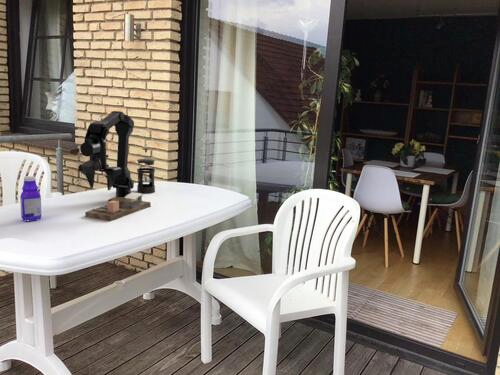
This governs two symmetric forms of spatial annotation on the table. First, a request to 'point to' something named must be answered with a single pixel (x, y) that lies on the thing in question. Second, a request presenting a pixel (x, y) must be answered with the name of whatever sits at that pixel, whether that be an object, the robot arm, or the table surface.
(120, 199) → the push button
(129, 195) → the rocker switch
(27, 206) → the bottle
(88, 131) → the robot arm
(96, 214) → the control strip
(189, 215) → the table surface
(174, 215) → the table surface
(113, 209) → the peach tinted cube
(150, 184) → the french press
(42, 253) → the table surface
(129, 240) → the table surface
